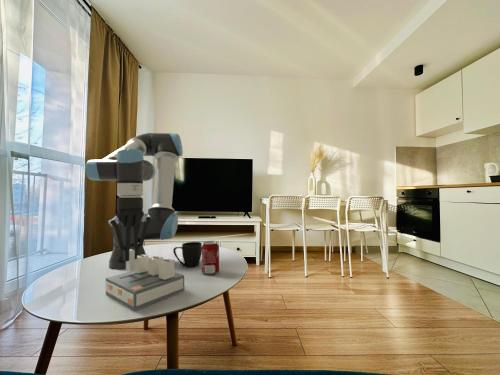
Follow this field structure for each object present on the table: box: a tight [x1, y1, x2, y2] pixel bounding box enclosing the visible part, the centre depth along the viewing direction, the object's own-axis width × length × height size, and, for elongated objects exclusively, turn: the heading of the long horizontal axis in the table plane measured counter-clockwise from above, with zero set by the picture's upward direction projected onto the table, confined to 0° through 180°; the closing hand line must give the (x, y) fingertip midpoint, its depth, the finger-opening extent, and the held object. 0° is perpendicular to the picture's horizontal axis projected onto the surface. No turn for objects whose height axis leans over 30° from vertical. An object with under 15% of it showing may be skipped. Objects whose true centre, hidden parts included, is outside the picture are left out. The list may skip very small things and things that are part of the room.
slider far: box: [134, 254, 150, 274], centre depth 80 cm, size 3×4×5 cm
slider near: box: [159, 258, 175, 280], centre depth 74 cm, size 3×4×5 cm
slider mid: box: [148, 255, 164, 276], centre depth 77 cm, size 3×4×5 cm
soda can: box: [201, 240, 220, 276], centre depth 94 cm, size 7×7×12 cm
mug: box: [172, 241, 203, 269], centre depth 102 cm, size 8×12×10 cm
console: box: [105, 271, 185, 311], centre depth 75 cm, size 18×16×5 cm
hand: (130, 270), depth 77 cm, fingers closed
